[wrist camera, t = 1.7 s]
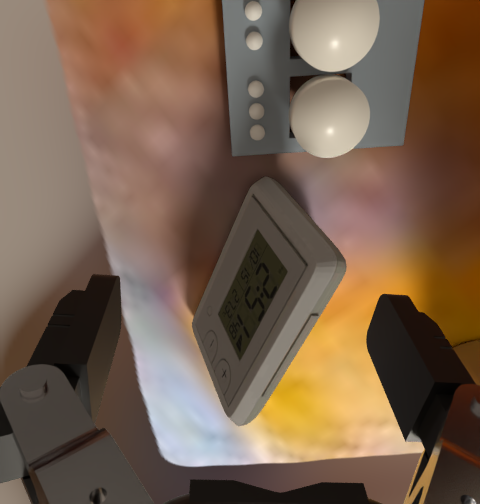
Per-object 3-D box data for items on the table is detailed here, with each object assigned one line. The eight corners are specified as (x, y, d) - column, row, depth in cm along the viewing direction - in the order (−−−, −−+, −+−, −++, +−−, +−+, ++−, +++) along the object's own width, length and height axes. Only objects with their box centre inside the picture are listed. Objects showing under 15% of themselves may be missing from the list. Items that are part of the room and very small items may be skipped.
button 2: (365, -27, 25) (384, -29, 22) (358, 60, 27) (374, 69, 24) (285, -21, 25) (293, -23, 22) (285, 65, 27) (293, 74, 24)
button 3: (357, 67, 27) (374, 76, 25) (351, 139, 30) (366, 155, 27) (285, 72, 27) (292, 81, 25) (285, 143, 30) (292, 160, 27)
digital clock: (264, 159, 32) (282, 226, 23) (356, 217, 35) (404, 297, 26) (161, 307, 39) (144, 404, 30) (245, 345, 42) (253, 445, 33)
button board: (435, -155, 23) (450, -165, 22) (395, 139, 32) (404, 146, 30) (212, -142, 23) (212, -151, 22) (231, 149, 32) (232, 157, 30)
